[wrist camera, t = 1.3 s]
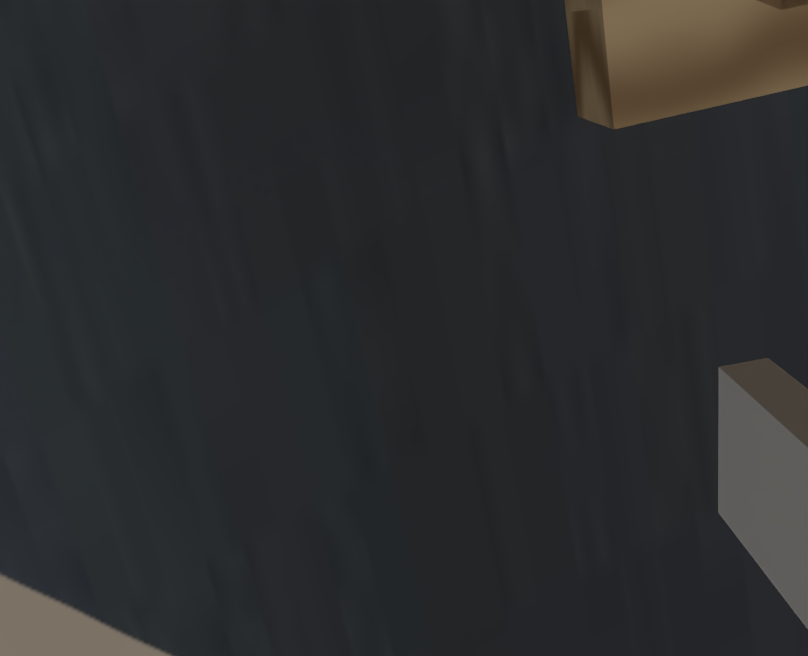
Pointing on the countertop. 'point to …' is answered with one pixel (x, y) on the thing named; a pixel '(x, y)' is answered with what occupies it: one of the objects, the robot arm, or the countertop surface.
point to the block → (681, 55)
